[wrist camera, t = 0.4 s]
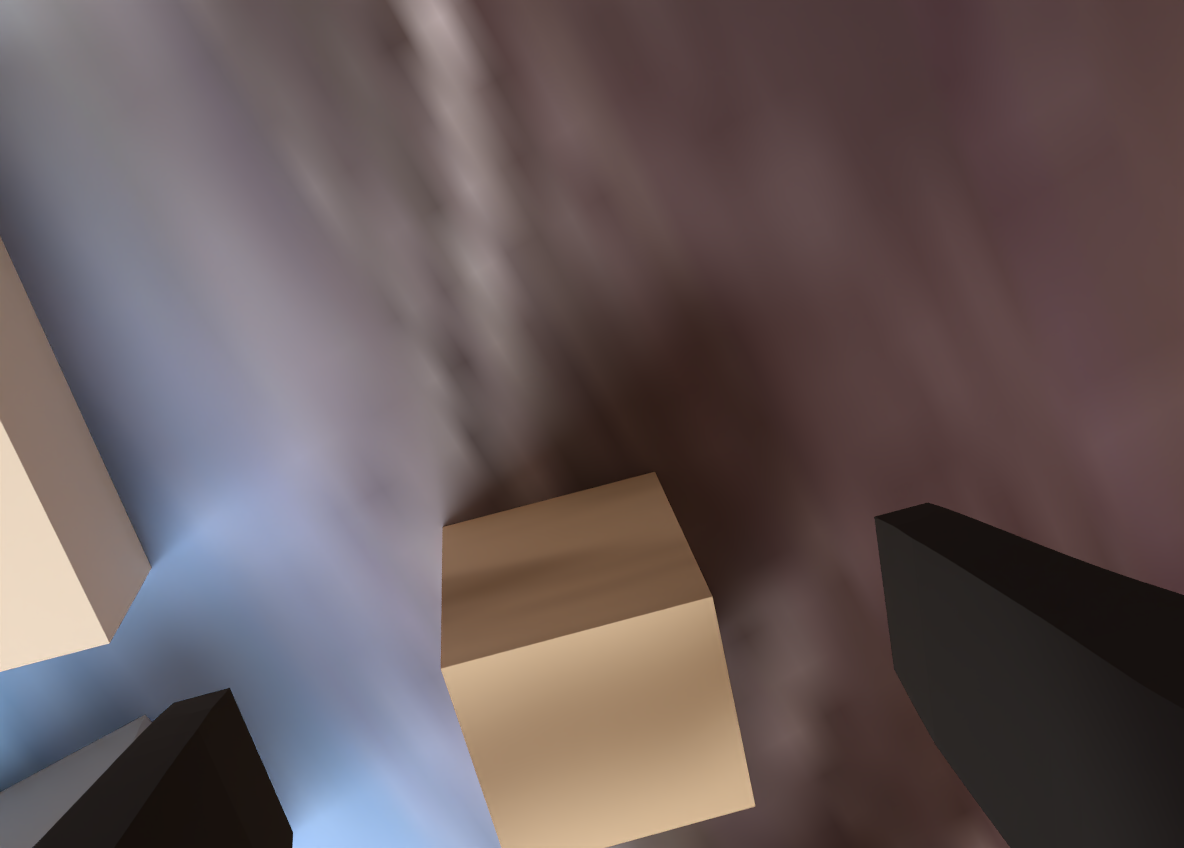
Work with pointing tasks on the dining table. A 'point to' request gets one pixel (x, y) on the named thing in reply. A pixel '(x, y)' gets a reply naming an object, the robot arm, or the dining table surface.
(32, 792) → the slate block
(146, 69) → the dining table surface
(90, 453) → the cream slab
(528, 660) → the maple block
